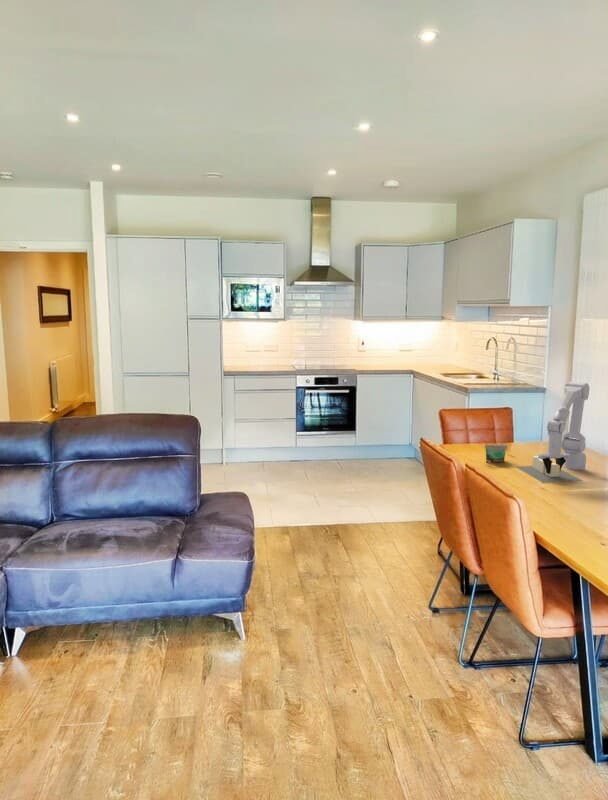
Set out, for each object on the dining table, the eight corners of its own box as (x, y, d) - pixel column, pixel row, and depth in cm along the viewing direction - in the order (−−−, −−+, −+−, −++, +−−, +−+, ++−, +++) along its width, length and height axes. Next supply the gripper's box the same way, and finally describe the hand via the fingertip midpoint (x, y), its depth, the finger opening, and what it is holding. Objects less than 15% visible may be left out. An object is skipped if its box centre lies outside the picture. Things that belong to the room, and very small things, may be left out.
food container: (490, 466, 281) (491, 447, 280) (483, 462, 287) (484, 444, 286) (511, 464, 285) (512, 445, 283) (504, 460, 290) (505, 442, 289)
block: (553, 473, 265) (554, 462, 264) (559, 476, 260) (560, 465, 259) (545, 473, 265) (545, 462, 264) (550, 476, 260) (551, 465, 259)
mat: (552, 466, 280) (552, 465, 280) (583, 482, 254) (583, 481, 254) (515, 468, 278) (515, 466, 277) (542, 484, 252) (542, 482, 252)
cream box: (540, 466, 277) (540, 456, 276) (552, 473, 266) (553, 462, 265) (531, 467, 276) (532, 456, 275) (543, 473, 266) (544, 462, 265)
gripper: (544, 447, 255) (542, 476, 257) (574, 447, 256) (572, 475, 258) (536, 444, 262) (535, 471, 264) (565, 443, 263) (563, 470, 265)
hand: (552, 473), depth 262 cm, fingers closed on block, 4 cm apart
